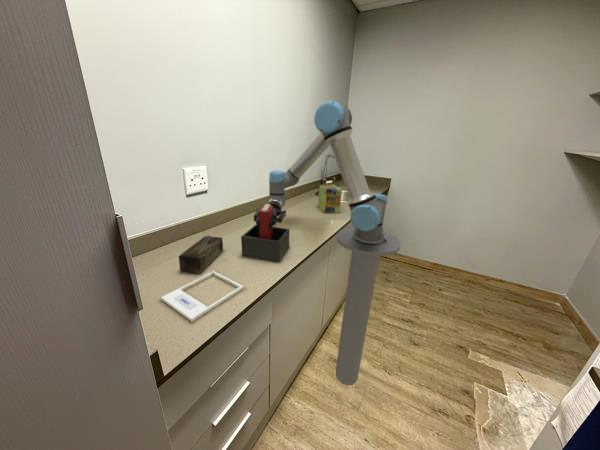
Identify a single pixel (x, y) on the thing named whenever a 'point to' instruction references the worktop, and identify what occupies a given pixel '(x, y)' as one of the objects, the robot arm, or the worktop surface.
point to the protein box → (329, 198)
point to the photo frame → (192, 306)
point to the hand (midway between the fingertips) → (263, 225)
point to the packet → (265, 221)
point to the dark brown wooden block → (200, 254)
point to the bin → (265, 244)
